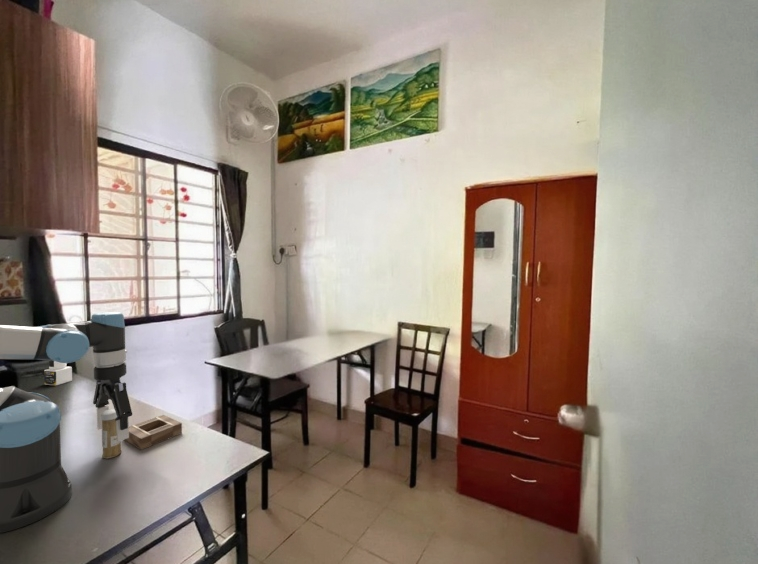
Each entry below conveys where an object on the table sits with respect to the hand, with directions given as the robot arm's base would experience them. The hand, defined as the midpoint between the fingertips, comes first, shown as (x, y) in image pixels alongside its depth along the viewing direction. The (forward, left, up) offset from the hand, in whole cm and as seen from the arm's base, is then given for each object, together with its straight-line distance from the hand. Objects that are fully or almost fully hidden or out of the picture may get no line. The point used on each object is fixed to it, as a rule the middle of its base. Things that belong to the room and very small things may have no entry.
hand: (112, 433), depth 97 cm
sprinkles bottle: (0, 0, -7) cm, 7 cm away
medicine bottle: (+63, +76, -7) cm, 99 cm away
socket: (+11, -5, -6) cm, 13 cm away
